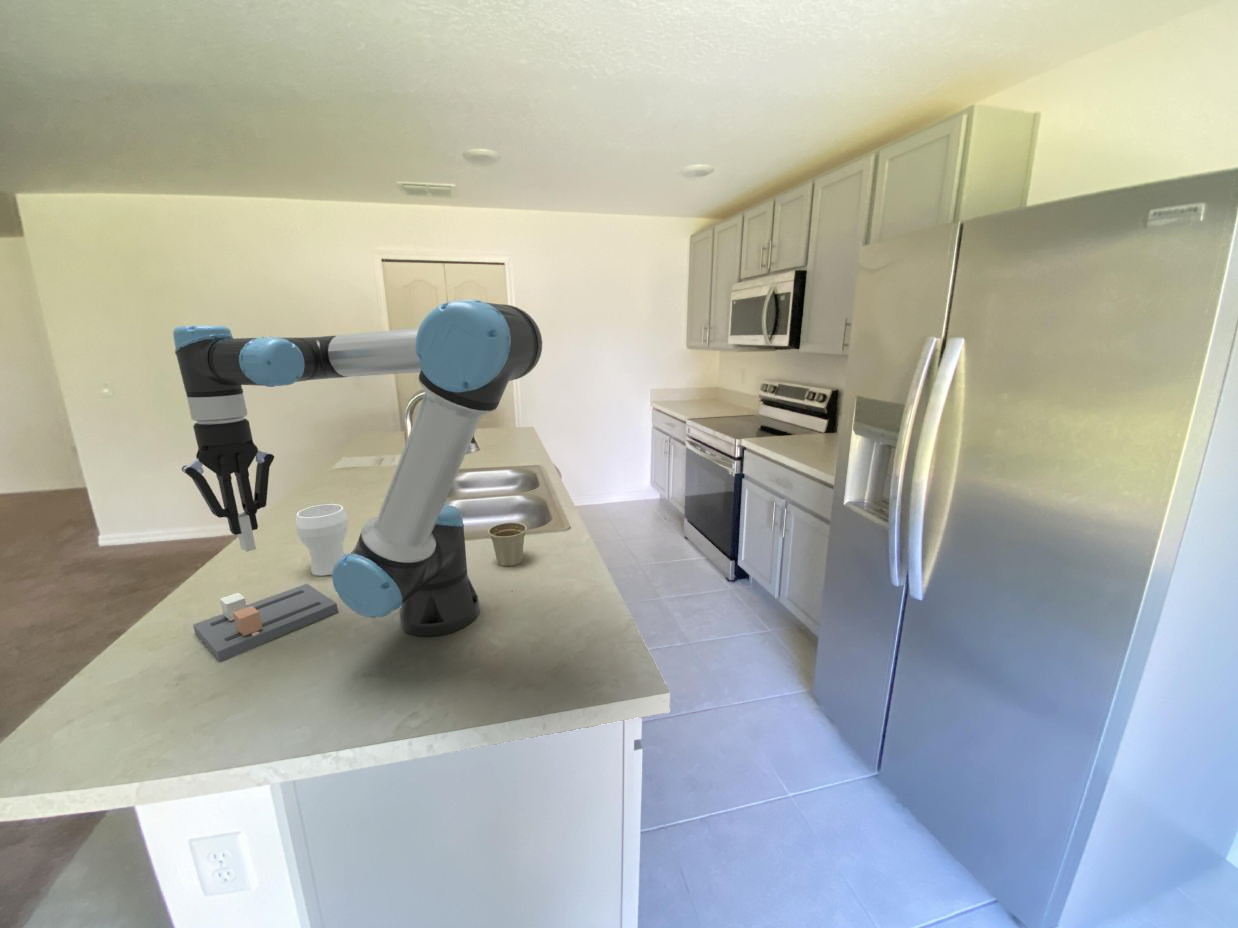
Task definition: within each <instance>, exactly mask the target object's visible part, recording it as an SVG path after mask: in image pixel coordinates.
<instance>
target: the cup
mask: <svg viewBox="0 0 1238 928" xmlns="http://www.w3.org/2000/svg"><path fill="white" fill-rule="evenodd" d="M295 516H296V517H295V518H296V519H295V529H296V534H297V537H299V539H300V541H301V543H302V544H303V545H304V546H305V547H306V548H307V549H308V551H309V555H310V558H311V560H310V563H311V564H310V573H311V574H312V575H313V576H321V577H322V576H330V575H331V576H332V571H333V567H334V565H335V564H336V562H337V561H338V560H340V559H341V558H342V557H343V556H344V555H345V552H344V541H345V539H346V537H347V533H348V528H349V520H348V515H347V513H346V510H345V508H344V506H343V505H341V504H336V503H326V504H318V505H313V506H312V505H311V506H309V507H306V508H304V509H303V508H302V509H301V510H299V511H298V512H297V513H296V515H295Z"/></svg>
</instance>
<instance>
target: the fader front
mask: <svg viewBox="0 0 1238 928" xmlns="http://www.w3.org/2000/svg"><path fill="white" fill-rule="evenodd" d="M233 615H234V620H235V624H236V629H237V630H238V631H239V632H240V633H241V634H242V635H243V636H245V635H248V634H251V633H253V632H256V631H258V630H261V629H263V628H262V623H261V618H260V613H259V611H258V610H256V609H255V608H254V607H253V606H250V607H247V608H244V609H242V610H239V611H236V612H233Z"/></svg>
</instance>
